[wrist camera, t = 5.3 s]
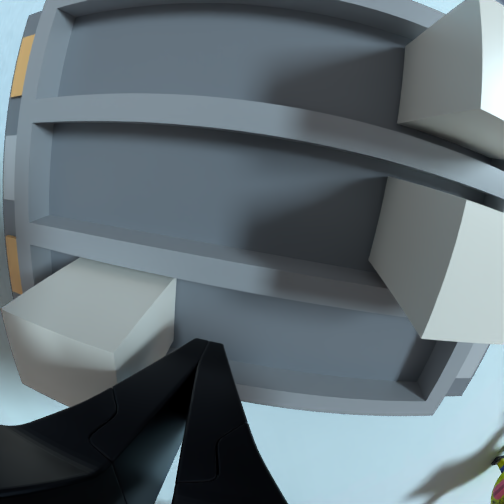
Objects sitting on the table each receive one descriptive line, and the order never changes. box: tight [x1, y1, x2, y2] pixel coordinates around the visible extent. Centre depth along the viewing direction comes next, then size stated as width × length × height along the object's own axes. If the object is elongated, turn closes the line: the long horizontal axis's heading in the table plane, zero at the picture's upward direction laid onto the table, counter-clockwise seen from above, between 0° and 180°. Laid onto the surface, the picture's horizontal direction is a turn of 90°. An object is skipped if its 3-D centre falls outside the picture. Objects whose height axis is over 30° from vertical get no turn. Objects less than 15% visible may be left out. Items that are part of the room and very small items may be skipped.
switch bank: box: [3, 0, 504, 416], centre depth 9 cm, size 13×21×2 cm, turn 81°
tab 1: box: [1, 257, 177, 407], centre depth 8 cm, size 3×4×4 cm
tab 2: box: [397, 0, 504, 160], centre depth 5 cm, size 3×4×4 cm
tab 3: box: [368, 176, 504, 345], centre depth 7 cm, size 3×4×4 cm
